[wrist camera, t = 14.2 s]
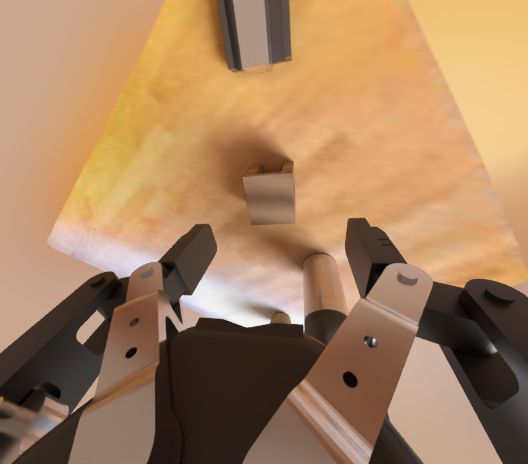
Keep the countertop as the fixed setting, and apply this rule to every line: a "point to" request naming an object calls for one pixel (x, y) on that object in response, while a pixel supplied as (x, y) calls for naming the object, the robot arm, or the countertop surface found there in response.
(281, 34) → the grey channel block
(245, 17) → the shiny metal block
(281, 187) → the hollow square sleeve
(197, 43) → the countertop surface
